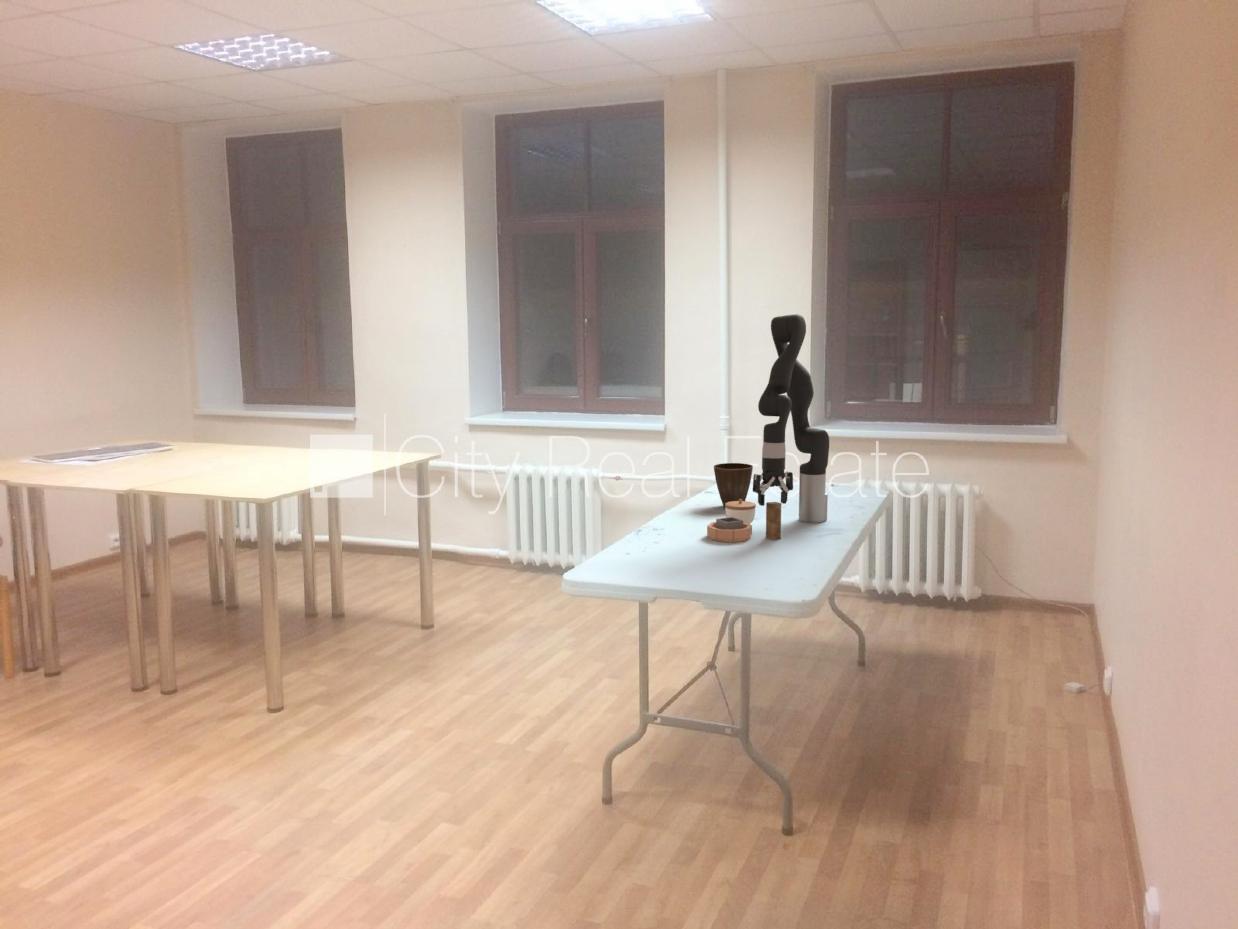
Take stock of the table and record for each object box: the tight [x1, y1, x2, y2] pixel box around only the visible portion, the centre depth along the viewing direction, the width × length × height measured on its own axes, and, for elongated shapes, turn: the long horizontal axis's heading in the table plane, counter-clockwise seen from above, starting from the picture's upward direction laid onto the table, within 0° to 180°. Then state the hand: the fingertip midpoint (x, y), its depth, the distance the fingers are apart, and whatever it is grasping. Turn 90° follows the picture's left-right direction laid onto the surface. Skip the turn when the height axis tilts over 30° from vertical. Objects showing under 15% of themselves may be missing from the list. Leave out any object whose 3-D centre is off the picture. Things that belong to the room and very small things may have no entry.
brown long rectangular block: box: [765, 501, 782, 541], centre depth 321 cm, size 4×4×12 cm
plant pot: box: [713, 462, 754, 508], centre depth 373 cm, size 15×15×16 cm
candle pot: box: [706, 517, 753, 543], centre depth 323 cm, size 14×14×6 cm
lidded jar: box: [724, 499, 757, 525], centre depth 341 cm, size 11×11×9 cm
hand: (772, 504), depth 320 cm, fingers open, 8 cm apart
